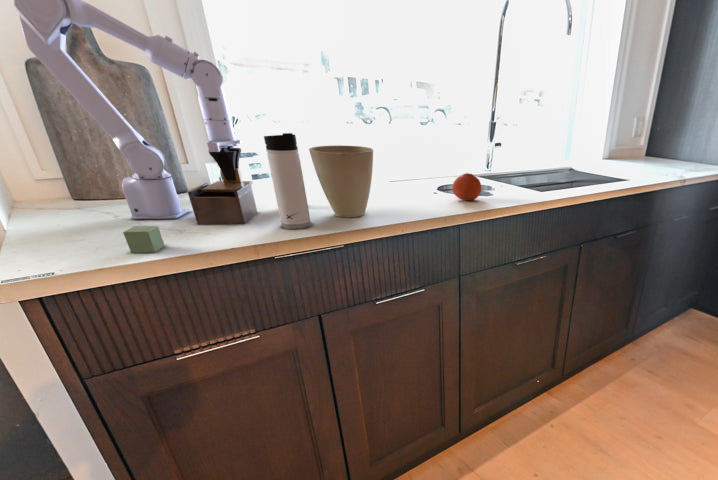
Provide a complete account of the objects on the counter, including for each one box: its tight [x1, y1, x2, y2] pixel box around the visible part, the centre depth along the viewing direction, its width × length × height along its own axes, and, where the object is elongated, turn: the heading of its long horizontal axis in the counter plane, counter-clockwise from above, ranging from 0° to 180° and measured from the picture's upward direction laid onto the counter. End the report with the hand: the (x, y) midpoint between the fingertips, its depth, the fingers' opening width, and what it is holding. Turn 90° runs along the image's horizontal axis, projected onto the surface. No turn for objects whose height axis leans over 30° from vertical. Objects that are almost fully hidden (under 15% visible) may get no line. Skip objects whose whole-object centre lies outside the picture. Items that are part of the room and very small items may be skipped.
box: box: [187, 182, 258, 225], centre depth 102 cm, size 10×11×7 cm
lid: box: [201, 168, 254, 192], centre depth 104 cm, size 8×11×4 cm
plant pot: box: [308, 144, 374, 218], centre depth 108 cm, size 15×15×16 cm
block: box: [122, 225, 165, 254], centre depth 81 cm, size 4×4×4 cm
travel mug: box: [263, 132, 312, 230], centre depth 95 cm, size 6×7×20 cm
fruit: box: [451, 172, 482, 201], centre depth 131 cm, size 9×9×8 cm
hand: (232, 179), depth 108 cm, fingers closed on lid
